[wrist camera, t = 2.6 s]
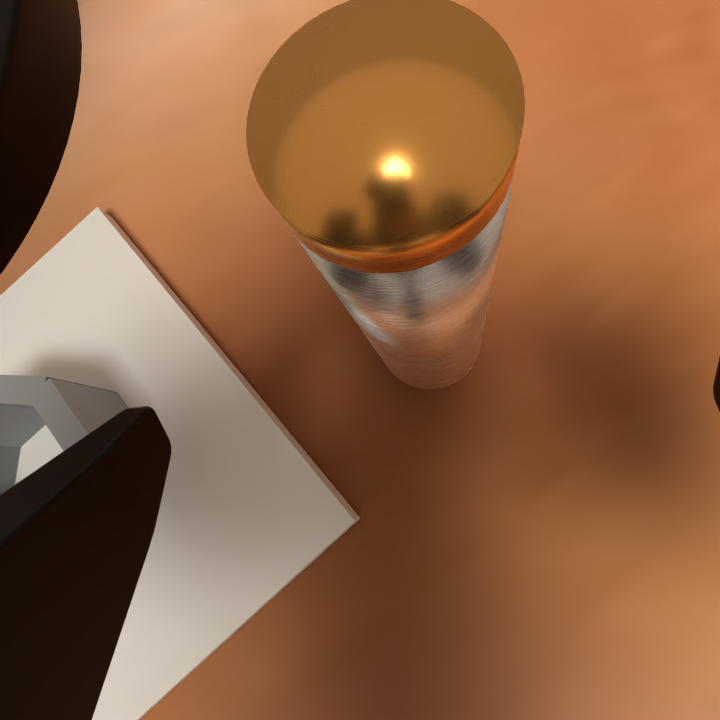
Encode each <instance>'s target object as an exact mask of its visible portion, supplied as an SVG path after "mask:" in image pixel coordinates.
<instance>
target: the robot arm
mask: <svg viewBox="0 0 720 720" xmlns="http://www.w3.org/2000/svg"><path fill="white" fill-rule="evenodd" d="M713 393H714V399H715V402H716V404H717V407H718V409H719V411H720V358H719V363H718V367H717V372H716V376H715V381H714V386H713ZM171 451H172V448H171V443H170V440H169V437H168V436H167V434H166V432H165V430H164V428H163V426H162V424H161V422H160V420H159V418H158V416H157V414H156V412H155V411H154V409H152V408H151V407H149V406H139V407H130V408H126V409H124V410H122V411H121V412H120V413H118V414H117V415H115V416H114V417H112V418H111V419H109V420H108V421H107V422H105V423H104V424H102V425H101V426H99V427H98V428H96V429H95V430H94V431H92V432H91V433H89V434H88V435H86V436H85V437H83V438H82V439H80V440H79V441H78V442H76V443H75V444H73V445H72V446H70V447H69V448H67V449H66V450H65V451H63V452H62V453H60V454H59V455H57V456H56V457H54V458H53V459H52V460H50V461H49V462H47V463H46V464H44V465H43V466H41V467H40V468H38V469H37V470H36V471H34V472H33V473H31V474H30V475H28V476H27V477H25V478H24V479H23V480H21V481H20V482H18V483H17V484H15V485H14V486H12V487H11V488H10V489H8V490H7V491H5V492H4V493H2V494H1V495H0V720H92V718H93V715H94V712H95V709H96V706H97V703H98V700H99V697H100V694H101V691H102V688H103V685H104V682H105V679H106V676H107V673H108V670H109V667H110V664H111V661H112V658H113V655H114V652H115V649H116V646H117V643H118V640H119V637H120V634H121V631H122V628H123V625H124V622H125V619H126V616H127V613H128V610H129V607H130V604H131V601H132V598H133V595H134V592H135V589H136V586H137V583H138V580H139V577H140V574H141V571H142V568H143V565H144V562H145V559H146V556H147V553H148V550H149V547H150V544H151V541H152V537H153V534H154V530H155V526H156V522H157V518H158V514H159V509H160V504H161V500H162V495H163V491H164V486H165V481H166V477H167V472H168V468H169V463H170V458H171Z"/></svg>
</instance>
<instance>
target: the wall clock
mask: <svg viewBox="0 0 720 720" xmlns="http://www.w3.org/2000/svg"><path fill="white" fill-rule="evenodd" d="M81 50H82V45H81V26H80V18H79V11H78V4H77V0H0V274H1V273H2V271H3V270H4V269H5V267H6V266H7V264H8V263H9V261H10V260H11V258H12V257H13V255H14V254H15V252H16V251H17V249H18V248H19V246H20V245H21V243H22V242H23V240H24V238H25V236H26V235H27V233H28V231H29V230H30V228H31V226H32V224H33V223H34V221H35V219H36V217H37V215H38V213H39V211H40V209H41V207H42V205H43V203H44V201H45V199H46V197H47V195H48V193H49V190H50V188H51V185H52V183H53V181H54V178H55V176H56V173H57V171H58V169H59V166H60V163H61V160H62V157H63V154H64V151H65V148H66V145H67V142H68V138H69V134H70V130H71V127H72V123H73V119H74V114H75V108H76V103H77V98H78V91H79V82H80V73H81Z"/></svg>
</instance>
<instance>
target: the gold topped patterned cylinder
mask: <svg viewBox="0 0 720 720" xmlns="http://www.w3.org/2000/svg"><path fill="white" fill-rule="evenodd" d="M524 111H525V99H524V87H523V83H522V78H521V74H520V70H519V68H518V65H517V63H516V60H515V58H514V56H513V54H512V52H511V51H510V49H509V47H508V46H507V44H506V42H505V41H504V40H503V39H502V37H501V36H500V35H499V34H498V32H497V31H496V30H495V29H494V28H493V27H492V26H491V25H489V24H488V23H487V22H486V21H485V20H484V19H483V18H481V17H480V16H478V15H477V14H475V13H474V12H472V11H471V10H469V9H467V8H465V7H463V6H461V5H459V4H457V3H455V2H453V1H450V0H351V1H348V2H345V3H343V4H340V5H338V6H335V7H333V8H331V9H329V10H327V11H325V12H323V13H322V14H320V15H318V16H317V17H315V18H314V19H312V20H311V21H309V22H308V23H306V24H305V25H304V26H302V27H301V28H300V29H299V30H297V31H296V32H295V33H294V34H293V35H292V36H291V37H290V38H289V39H288V40H287V41H286V42H285V43H284V44H283V45H282V46H281V47H280V48H279V49H278V51H277V52H276V53H275V54H274V56H273V57H272V58H271V60H270V61H269V63H268V64H267V66H266V68H265V69H264V71H263V72H262V74H261V76H260V78H259V81H258V83H257V85H256V87H255V89H254V93H253V96H252V99H251V102H250V106H249V111H248V117H247V129H246V139H247V149H248V155H249V159H250V163H251V167H252V170H253V172H254V174H255V177H256V179H257V182H258V183H259V185H260V187H261V188H262V190H263V192H264V194H265V195H266V197H267V198H268V199H269V201H270V202H271V204H272V205H273V206H274V208H275V209H276V211H277V212H278V214H279V215H280V216H281V218H282V219H283V221H284V222H285V223H286V225H287V226H288V228H289V229H290V230H291V232H292V233H293V235H294V236H295V237H296V239H297V240H298V242H299V243H300V245H301V246H302V247H303V249H304V250H305V252H306V253H307V254H308V256H309V257H310V259H311V260H312V261H313V263H314V264H315V266H316V267H317V269H318V270H319V271H320V273H321V274H322V276H323V277H324V278H325V280H326V281H327V283H328V284H329V285H330V287H331V288H332V290H333V291H334V292H335V294H336V295H337V297H338V298H339V300H340V301H341V302H342V304H343V305H344V307H345V308H346V309H347V311H348V312H349V314H350V315H351V316H352V318H353V319H354V321H355V322H356V323H357V325H358V326H359V328H360V329H361V331H362V332H363V333H364V335H365V336H366V338H367V339H368V340H369V342H370V343H371V345H372V346H373V347H374V349H375V350H376V352H377V353H378V354H379V356H380V357H381V359H382V360H383V362H384V363H385V364H386V366H387V367H388V369H389V370H390V371H391V372H392V374H393V375H395V376H396V377H397V378H398V379H399V380H401V381H402V382H404V383H405V384H407V385H410V386H412V387H415V388H419V389H427V390H431V389H440V388H444V387H447V386H450V385H452V384H454V383H456V382H457V381H459V380H460V379H462V378H463V377H464V376H465V375H466V374H467V373H468V372H469V371H470V370H471V368H472V367H473V366H474V364H475V362H476V360H477V357H478V355H479V351H480V347H481V341H482V336H483V331H484V326H485V321H486V315H487V310H488V305H489V300H490V295H491V289H492V284H493V279H494V274H495V269H496V263H497V258H498V253H499V248H500V243H501V237H502V232H503V227H504V222H505V216H506V211H507V206H508V201H509V196H510V190H511V185H512V180H513V175H514V170H515V164H516V159H517V154H518V149H519V144H520V138H521V133H522V128H523V123H524Z"/></svg>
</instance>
